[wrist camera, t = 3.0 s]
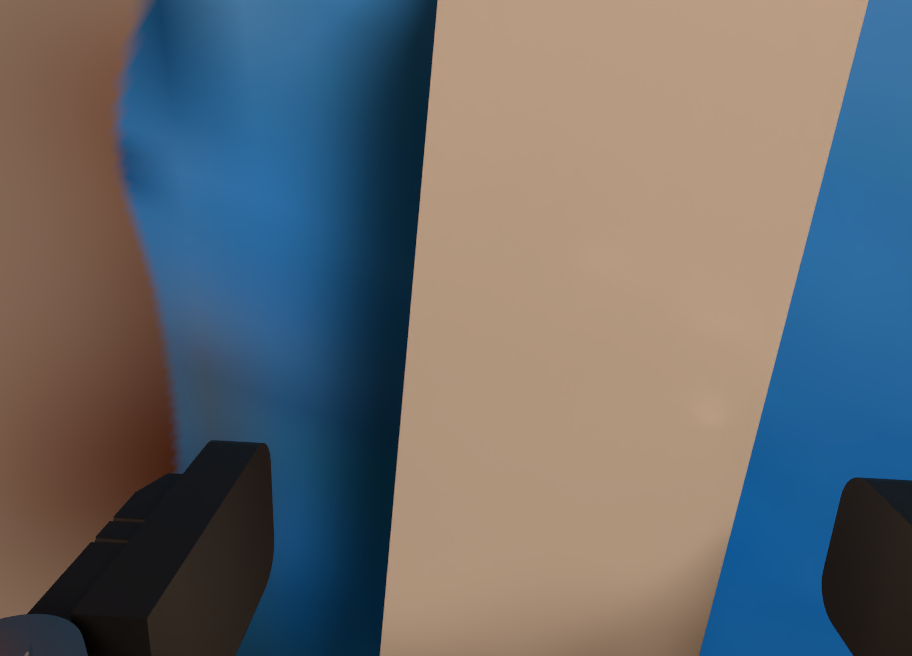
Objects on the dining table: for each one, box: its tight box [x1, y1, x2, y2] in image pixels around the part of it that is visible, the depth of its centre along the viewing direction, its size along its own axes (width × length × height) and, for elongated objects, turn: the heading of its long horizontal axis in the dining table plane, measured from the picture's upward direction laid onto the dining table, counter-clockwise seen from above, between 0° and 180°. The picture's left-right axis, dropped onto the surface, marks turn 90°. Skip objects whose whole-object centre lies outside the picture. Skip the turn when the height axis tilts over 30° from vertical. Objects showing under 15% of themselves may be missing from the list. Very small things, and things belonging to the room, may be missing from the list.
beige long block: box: [380, 0, 869, 656], centre depth 13 cm, size 5×18×6 cm, turn 174°
